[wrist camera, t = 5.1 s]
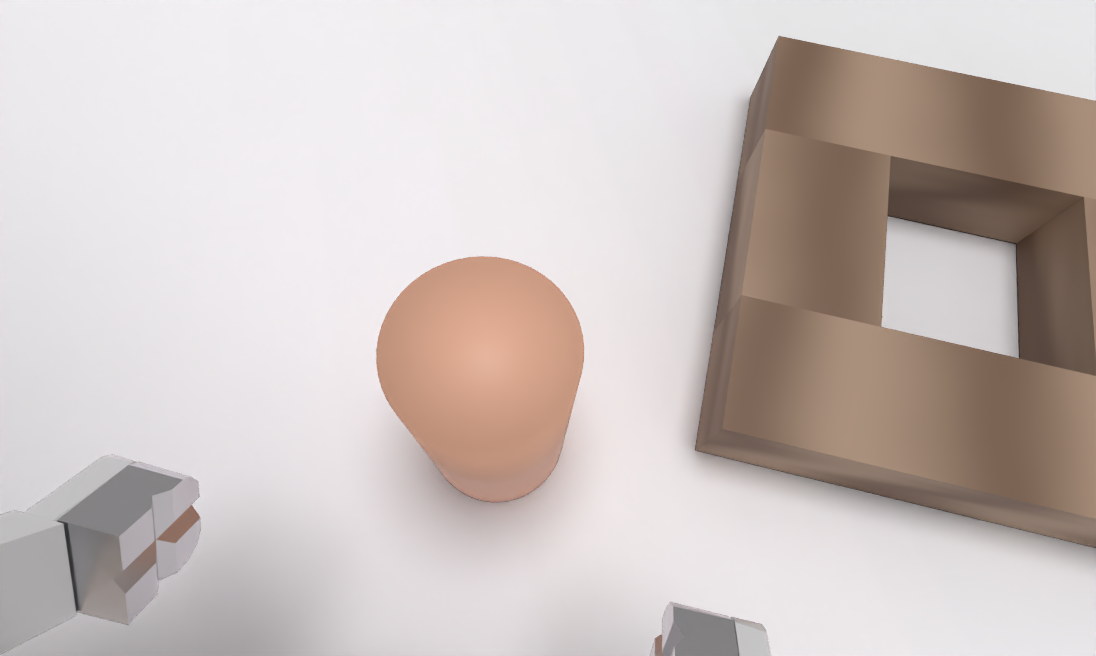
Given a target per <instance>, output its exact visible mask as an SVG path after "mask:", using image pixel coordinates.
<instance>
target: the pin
mask: <svg viewBox="0 0 1096 656" xmlns="http://www.w3.org/2000/svg"><path fill="white" fill-rule="evenodd" d="M583 362H584V343H583V335H582V331H581V327H580V323H579V320H578V318H577V316H576V313H575V311H574V309H573V307H572V306H571V304H570V302H569V301H568V299H567V298H566V297H565V295H564V294H563V293H562V291H561V290H560V289H559V288H558V287H557V286H556V285H555V284H554V283H553V282H552V281H550V280H549V279H548V278H546V277H545V276H544V275H542V274H541V273H539V272H537V271H536V270H534V269H532V268H530V267H528V266H526V265H523V264H521V263H518V262H515V261H512V260H508V259H503V258H497V257H468V258H463V259H458V260H454V261H451V262H447V263H444V264H442V265H440V266H437V267H435V268H433V269H431V270H429V271H428V272H426V273H424V274H423V275H421V276H420V277H418V278H417V279H416V280H414V281H413V282H412V283H411V284H410V285H409V286H408V287H407V288H406V289H404V290H403V291H402V292H401V294H400V295H399V296H398V298H397V299H396V300H395V301H394V303H393V304H392V306H391V308H390V309H389V311H388V313H387V315H386V317H385V319H384V321H383V324H382V327H381V330H380V334H379V337H378V344H377V370H378V377H379V380H380V384H381V387H382V390H383V392H384V394H385V397H386V399H387V401H388V402H389V404H390V406H391V407H392V409H393V410H394V412H395V413H396V414H397V416H398V417H399V418H400V420H401V421H402V422H403V424H404V425H405V426H406V427H407V429H408V430H409V431H410V433H411V434H412V435H413V436H414V438H415V439H416V440H417V442H418V443H419V444H420V445H421V447H422V448H423V449H424V451H425V452H426V453H427V454H428V456H429V457H430V458H431V460H432V461H433V462H434V464H435V465H436V466H437V467H438V469H439V470H440V471H441V473H442V474H443V475H444V476H445V478H446V479H447V480H448V481H449V482H450V483H451V484H452V485H453V486H454V487H455V488H456V489H458V490H459V491H461V492H462V493H464V494H466V495H468V496H470V497H472V498H475V499H478V500H482V501H487V502H505V501H510V500H515V499H517V498H520V497H523V496H525V495H527V494H529V493H531V492H532V491H533V490H535V489H536V488H538V487H539V486H540V485H541V484H542V483H543V482H544V481H545V480H546V479H547V478H548V477H549V475H550V474H551V472H552V471H553V469H554V468H555V466H556V463H557V461H558V459H559V456H560V452H561V449H562V445H563V441H564V438H565V434H566V430H567V426H568V423H569V419H570V415H571V411H572V408H573V404H574V400H575V396H576V393H577V389H578V385H579V381H580V378H581V374H582V368H583Z"/></svg>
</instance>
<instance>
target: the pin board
mask: <svg viewBox="0 0 1096 656" xmlns="http://www.w3.org/2000/svg"><path fill="white" fill-rule="evenodd" d="M887 215H888V216H893V217H898V218H902V219H907V220H911V221H916V222H920V223H925V224H930V225H934V226H939V227H943V228H948V229H952V230H957V231H962V232H966V233H971V234H975V235H980V236H984V237H989V238H994V239H998V240H1003V241H1007V242H1012V243H1016V244H1017V277H1018V313H1019V348H1020V359H1019V358H1015V357H1010V356H1006V355H1002V354H997V353H993V352H989V351H984V350H980V349H975V348H971V347H967V346H962V345H958V344H954V343H949V342H945V341H940V340H936V339H932V338H927V337H923V336H919V335H914V334H910V333H905V332H901V331H897V330H892V329H888V328H884V327H881V322H882V304H883V286H884V268H885V250H886V232H887ZM695 450H696V451H700V452H704V453H708V454H713V455H717V456H721V457H725V458H729V459H733V460H737V461H741V462H745V463H750V464H754V465H758V466H762V467H766V468H770V469H774V470H778V471H782V472H787V473H791V474H795V475H799V476H803V477H807V478H811V479H815V480H819V481H824V482H828V483H832V484H836V485H840V486H844V487H848V488H852V489H856V490H861V491H865V492H869V493H873V494H877V495H881V496H885V497H889V498H894V499H898V500H902V501H906V502H910V503H914V504H918V505H922V506H926V507H931V508H935V509H939V510H943V511H947V512H951V513H955V514H959V515H963V516H968V517H972V518H976V519H980V520H984V521H988V522H992V523H996V524H1000V525H1005V526H1009V527H1013V528H1017V529H1021V530H1025V531H1029V532H1033V533H1037V534H1042V535H1046V536H1050V537H1054V538H1058V539H1062V540H1066V541H1070V542H1074V543H1079V544H1083V545H1087V546H1091V547H1095V548H1096V101H1093V100H1088V99H1084V98H1079V97H1074V96H1069V95H1064V94H1059V93H1054V92H1049V91H1045V90H1040V89H1035V88H1030V87H1025V86H1020V85H1015V84H1010V83H1006V82H1001V81H996V80H991V79H986V78H981V77H976V76H972V75H967V74H962V73H957V72H952V71H947V70H942V69H937V68H933V67H928V66H923V65H918V64H913V63H908V62H903V61H898V60H894V59H889V58H884V57H879V56H874V55H869V54H864V53H859V52H855V51H850V50H845V49H840V48H835V47H830V46H825V45H820V44H816V43H811V42H806V41H801V40H796V39H791V38H786V37H781V36H779V37H778V39H777V41H776V43H775V45H774V47H773V50H772V52H771V54H770V56H769V58H768V60H767V62H766V65H765V67H764V69H763V71H762V73H761V75H760V78H759V80H758V82H757V84H756V86H755V88H754V91H753V93H752V95H751V98H750V104H749V111H748V117H747V123H746V130H745V136H744V142H743V149H742V155H741V161H740V168H739V174H738V180H737V187H736V193H735V199H734V206H733V212H732V219H731V225H730V231H729V238H728V244H727V250H726V257H725V263H724V269H723V276H722V282H721V288H720V295H719V301H718V308H717V314H716V320H715V327H714V333H713V339H712V346H711V352H710V358H709V365H708V371H707V377H706V384H705V390H704V396H703V403H702V409H701V416H700V422H699V428H698V435H697V441H696V447H695Z"/></svg>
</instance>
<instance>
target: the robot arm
mask: <svg viewBox="0 0 1096 656" xmlns="http://www.w3.org/2000/svg"><path fill="white" fill-rule="evenodd" d="M199 497H200V496H199V485H198V481H197V480H196V479H194V478H192V477H190V476H187V475H183V474H180V473H176V472H173V471H169V470H166V469H162V468H159V467H155V466H152V465H148V464H145V463H142V462H136V461H132V460H129V459H125V458H122V457H119V456H115V455H108V456H104V457H101V458H99V459H98V460H97V461H95V462H94V463H92V464H91V465H90V466H88V467H87V468H85V469H84V470H83V471H81V472H80V473H78V474H77V475H76V476H74V477H73V478H71V479H70V480H69V481H67V482H66V483H64V484H63V485H62V486H60V487H59V488H57V489H56V490H55V491H53V492H52V493H50V494H49V495H48V496H46V497H45V498H44V499H42V500H41V501H39V502H38V503H37V504H35V505H34V506H32V507H31V508H30V509H28V510H27V511H25V512H24V513H23V512H19V511H15V510H14V511H11V512H8V513H4V514H1V515H0V655H1V654H3V653H5V652H7V651H9V650H11V649H13V648H15V647H17V646H19V645H21V644H23V643H24V642H26V641H28V640H30V639H32V638H34V637H36V636H38V635H40V634H42V633H44V632H46V631H48V630H50V629H52V628H54V627H55V626H57V625H59V624H61V623H63V622H65V621H67V620H69V619H71V618H73V617H75V616H76V615H77V612H78V613H82V614H86V615H90V616H94V617H98V618H102V619H106V620H110V621H114V622H118V623H122V624H126V625H129V624H130V623H131V622H132V620H133V619H134V618H135V617H136V616H137V615H138V614H139V613H140V612H141V611H142V610H143V609H144V608H145V607H146V605H147V604H148V603H149V602H150V601H151V600H152V599H153V598H154V597H155V596H156V595H157V594H158V584H159V580H161V579H163V578H166V577H168V576H170V575H173V574H175V573H177V572H178V571H179V570H180V569H181V568H182V566H183V565H184V564H185V563H186V562H187V561H188V560H189V558H190V556H191V554H192V552H193V550H194V548H195V547H196V545H197V543H198V539H199V534H200V530H201V524H200V516H199V515H198V514H197V512H196V511H195V509H194V508H193V506H192V504H193V503H194V502H195V501H196V500H197V499H198V498H199ZM650 656H771V652H770V647H769V642H768V637H767V632H766V629H765V628H764V626H763V625H762V624H759V623H755V622H751V621H747V620H743V619H738V618H734V617H729V616H725V615H721V614H718V613H714V612H710V611H706V610H702V609H698V608H694V607H690V606H686V605H682V604H678V603H674V602H669V604H668V605H667V607H666V609H665V612H664V615H663V617H662V635H660V636H658V637H656V638H655V640H654V643H653V646H652V649H651V652H650Z"/></svg>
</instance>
